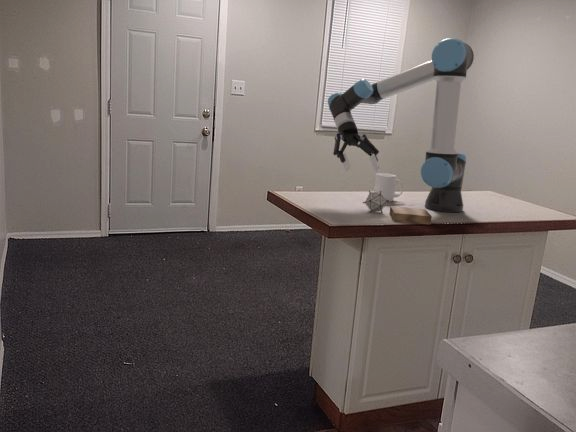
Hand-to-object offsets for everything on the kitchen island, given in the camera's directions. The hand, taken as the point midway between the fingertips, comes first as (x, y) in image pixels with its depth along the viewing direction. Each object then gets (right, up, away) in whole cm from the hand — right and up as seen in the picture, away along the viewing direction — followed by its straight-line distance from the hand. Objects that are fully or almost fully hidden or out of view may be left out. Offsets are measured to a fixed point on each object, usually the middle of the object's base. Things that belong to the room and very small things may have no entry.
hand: (362, 168), depth 205 cm
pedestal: (+15, -19, -13) cm, 28 cm away
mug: (+13, -12, +20) cm, 27 cm away
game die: (+4, -17, -6) cm, 18 cm away
